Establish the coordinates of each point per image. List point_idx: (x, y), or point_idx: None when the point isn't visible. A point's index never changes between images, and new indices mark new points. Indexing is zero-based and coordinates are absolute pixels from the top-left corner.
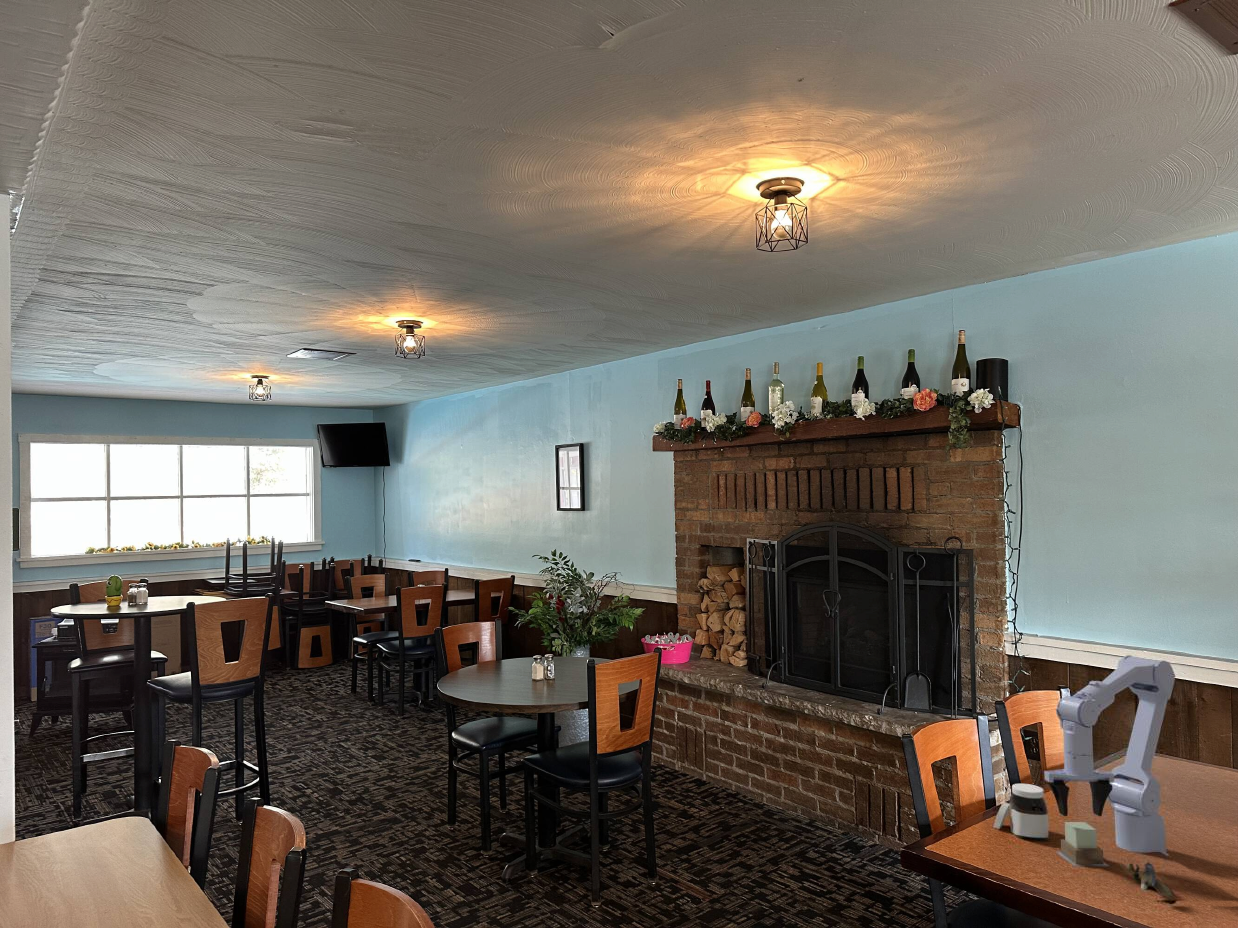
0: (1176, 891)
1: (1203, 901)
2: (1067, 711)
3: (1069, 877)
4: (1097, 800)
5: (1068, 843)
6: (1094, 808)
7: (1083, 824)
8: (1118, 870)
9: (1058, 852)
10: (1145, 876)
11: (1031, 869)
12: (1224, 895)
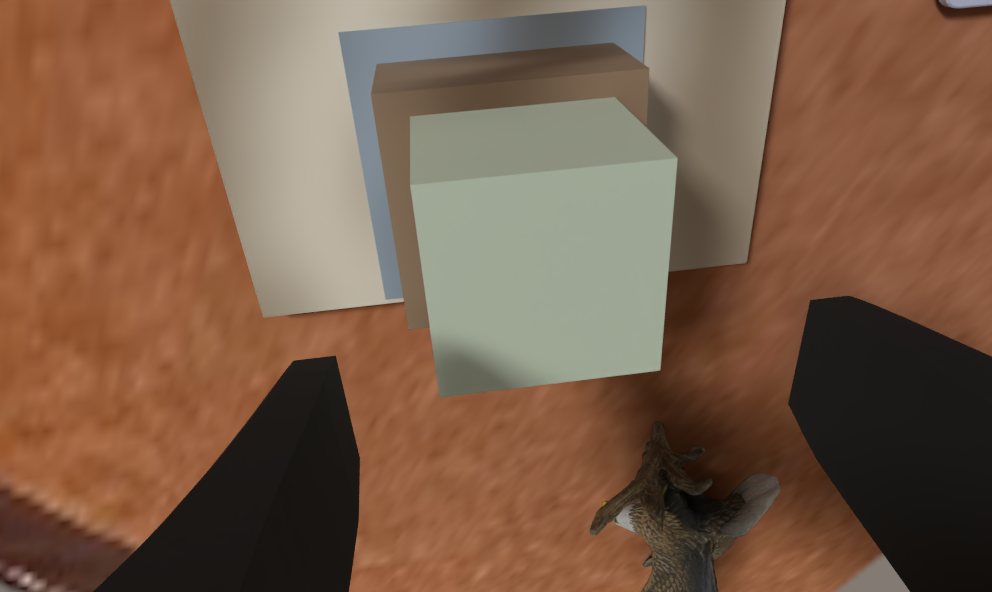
0: (795, 461)
1: (829, 527)
2: None
3: None
4: (941, 532)
5: (407, 195)
6: (846, 366)
7: (611, 238)
8: None
9: (357, 49)
10: (668, 547)
11: (78, 313)
12: None
